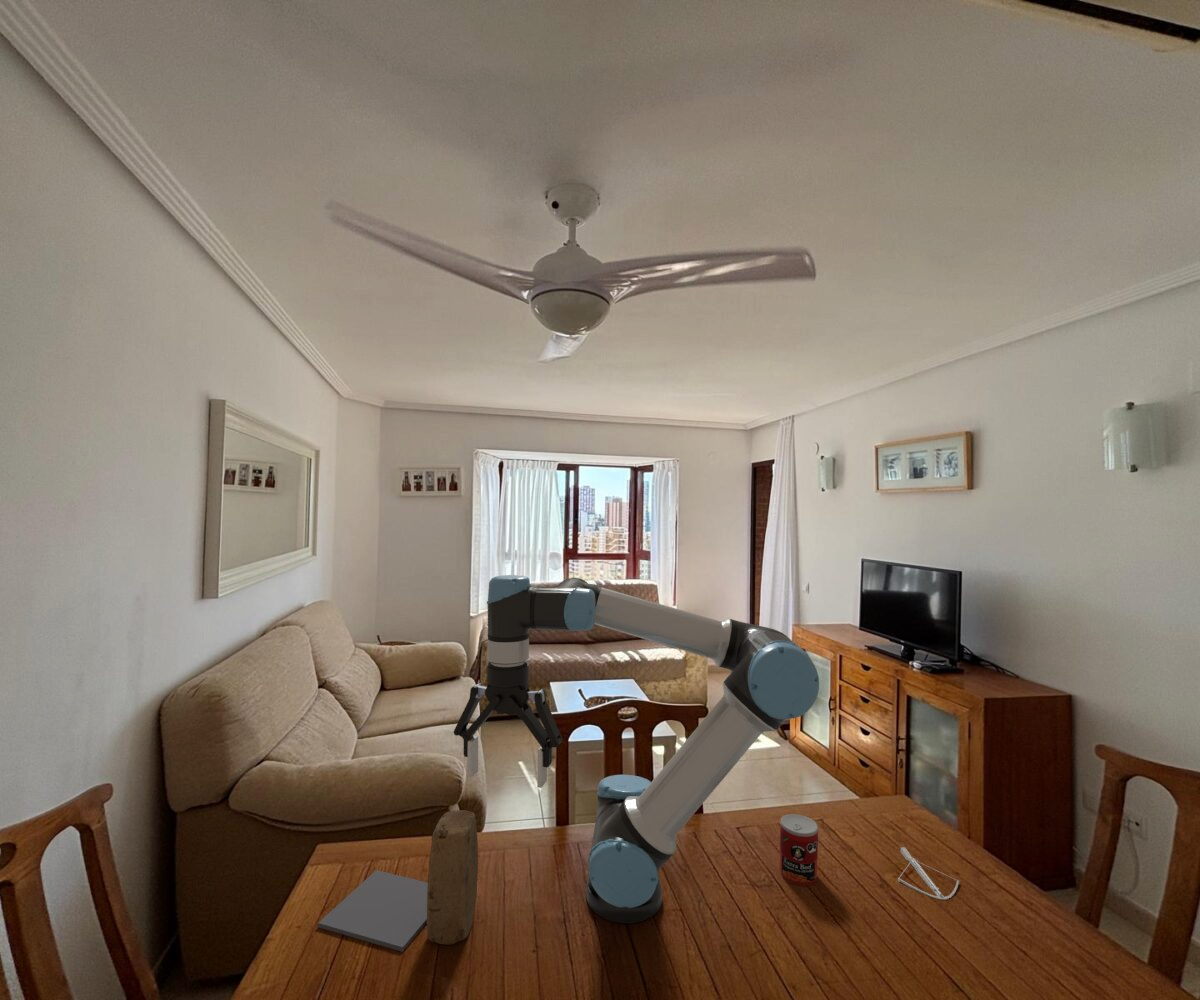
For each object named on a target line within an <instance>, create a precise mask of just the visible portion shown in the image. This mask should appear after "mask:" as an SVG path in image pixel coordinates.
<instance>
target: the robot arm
mask: <svg viewBox="0 0 1200 1000" xmlns="http://www.w3.org/2000/svg"><path fill="white" fill-rule="evenodd" d="M487 593H488V594H487V601H486V604H487V648H486V649H487V650H486V652H487V653H486V660H487V661H488V663H487V664H486V683H487V685H486V686H484V685H483V684H482V683H480V682H478V683H476V684H475V685H473V686H472V687H471V688H470V692H469V699H468V701H467V703H466V705H465V707H464V709H463V711H462V713H461V715H460V717H459V718H458V721H457V723H456V726H455V728H454V729H453V735H454V736H457V737H458V736H459V737H461V738H462V739H463V757H464V758H465V757H466V758H467V766H466V767H467V771H466V772H467V774H466V777H467V778H469V779H472V777H474V776H475V774H477V773H478V772H479V735H475V734H476V733H477V731H479V729H480V728H481V727H482V726H483V724H484V723H485V722H486V721H487V720H488V718H489V717H490V716H491V715H492V714H493V713H494V712H496V714H497V715H504V714H506V715H508V716H515V715H516V716H517V717H518V718H519V719H520V720H522V722H523V723H524V725H525V726H526V727H527V729H528V730H529V731H530V733H531V734H532V736H533V738H535V740H536V741H537V743H538V744H539V746H540V747H539V748H538V750H537V783H536V784H537V788H541V789H542V788H543V787H544V786H545V784H546V783H547V781H548V768H549V767H550V766H551V764H552V763H553V748H558V747H559V745H560V744H561V743H562V741H563V736H562V734H561V732H560V729H559V727H558V725H557V722H556V720H555V718H554V716H553V713H552V712H551V709H550V706H549V704H548V702H547V695H546V694H547V693H546V690H545V689H544V688H540V689H539V690H533V691H532V690H530V688H529V678H530V673H529V672H530V671H529V669H530V664H529V662H528V660H529V659H530V630H535V631H536V630H539V631H540V630H543V631H567V632H570V631H571V632H577V631H591V630H592V629H593V628H594V626H600V627H603V628H606V629H609V630H612V631H616V632H620V633H623V634H627V635H629V636H633V637H637V638H640V639H643V640H647V641H650V642H654V643H657V644H660V645H663V646H667V647H671V648H673V649H677V650H681V651H683V652H688V653H690V654H694V655H697V656H701V657H705V658H708V659H709V660H713V663H714V664H715V665H716V667H720V668H723V669H725V670H728V671H730V673H729V675H727V676H726V679H724V681H723V682H722V687H723V694H722V695H723V696H722V697H721V698H720V700H719V701H718V702H717V703H716V704H715V706H714V707H713V708H712V709H711V710H710V711H709V712H708V714H707V715H706V716H705V717H704V718H703V720H702V721H701V722H700V723H699V725H698V726H697V727H696V729H694V731H693V732H692V733H691V734H690V735H689V736H688V738H687V739H686V740H685V741H684V743H682V745H681V747H679V749H678V750H677V751H676V752H675V753H674V754H673V756H672V757H671V758H670V759H669V761H667V763H666V764H665V765H664V766H663V768H662V769H661V770H660V771H659V773H657V775H656V776H655V777H654V779H653V780H652V781H650V780H649V779H647V778H644V777H642V776H637V775H631V774H614V775H609V776H606V777H605V778H602V779H601V780H600V781H599V783H598V785H597V792H596V796H597V801H596V802H597V803H596V805H597V806H596V807H597V809H596V818H595V823H594V827H593V828H594V830H593V835H592V840H591V841H592V843H591V847H590V851H589V855H588V860H587V861H588V877H587V881H586V887H585V888H586V890H585V891H586V894H585V895H586V896H585V897H586V901H587V904H588V906H589V908H591V910H592V911H593V912H594V913H595V914H596V915H598V916H600V917H601V918H603V919H605V920H608V921H611V922H614V923H620V924H635V923H639V922H640V923H641V922H643V921H645V920H648V919H649V918H651V917H653V916H654V915H656V913H658V912H659V909H660V908H661V906H662V900H663V898H662V896H663V888H662V883H661V879H660V875H659V872H660V870H661V868H663V867H664V865H665V864H666V863H667V862H668V861H669V859H670V858H671V857H672V856H673V854H675V852H676V850H677V837H676V836H677V834H678V833H680V831H681V830H682V828H683V827H684V826H685V825H686V824H687V822H688V821H689V820H690V819H692V818H691V817H693V816H694V814H695V813H697V810H699V808H700V807H701V806H702V805H703V804H704V802H706V800H707V799H708V798H709V797H710V795H712V793H713V792H714V791H715V789H716V788H717V787H718V786H719V785H720V783H721V782H722V781H724V778H726V777H727V775H728V774H729V773H730V772H731V770H732V769H733V768H734V767H735V766H736V764H737V763H738V762H739V761H740V759H742V757H743V756H744V755H745V754H746V753H747V752H748V750H749V749H750V748H751V746H753V745H754V743H755V742H756V741H757V740H758V739H759V737H760V736H761V735H762V734H763V733H765V732H777V731H778V729H780V727H782V725H784V724H785V722H786V721H787V720H792V719H797V718H799V717H802V716H803V715H805V714H806V713H807V712H809V710H810V709H812V707H813V705H814V704H815V702H816V701H817V699H818V695H819V691H820V679H819V677H820V676H819V674H818V670H817V668H816V665H815V664H814V662H813V660H812V659H811V657H810V655H809V654H808V653H807V652H806V651H805V650H804V649H803V648H802V647H801V646H799V645H797V644H796V643H795V642H794V641H793V640H792V639H791V638H790V637H788V636H787V635H786V634H785V633H783V632H781V631H779V630H777V629H775V628H771V627H767V626H762V625H758V624H757V625H756V624H752V623H748V622H743V621H740V620H735V619H733V618H729V617H727V618H726V619H724V620H723V621H722V620H721V621H720V620H717V619H715V618H714V619H713V618H709V617H706V616H703V615H701V614H696V613H692V612H689V611H685V610H681V609H678V608H674V607H672V606H669V605H665V604H661V603H658V602H654V601H652V600H647V599H644V598H640V597H636V596H633V595H630V594H626V593H623V592H619V591H617V590H612V589H609V588H606V587H600V586H598V585H595V584H592V583H589V582H587V581H586V580H585V579H583V578H581V577H580V578H579V577H571V578H570V577H569V578H566V579H563V580H562V581H561V582H560V583H559V584H558V585H557V586H556V587H535V586H532V584H531V581H530V578H529V577H528V576H526V575H519V574H517V575H516V574H506V575H505V574H503V575H496V576H494V577H492V578H490V580H489V582H488V591H487ZM484 696H485V697H486V699H487V700H488V702H489V703H488V704H487V706H485V708H484V709H483V711H482V712H481V713H479V715H478V716H477V718H476V719H475V720H474V721H473V723H471V725H470V726H469V727H468V725H469V723H470V721H471V719H472V716H473V715H474V714H475V711H476V708H477V707H478V704H479V702H480V701H481V698H483V697H484ZM529 700H531V703H532V704H534V705H535V710H536V712H537V715H538V716H539V719H540V720H539V719H538V718H537V716H536V715H535V713H534V712H533V711H532V710H533V709H532V707H531V705H530V704H529V703H528V701H529ZM540 721H541V722H540Z"/></svg>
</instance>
